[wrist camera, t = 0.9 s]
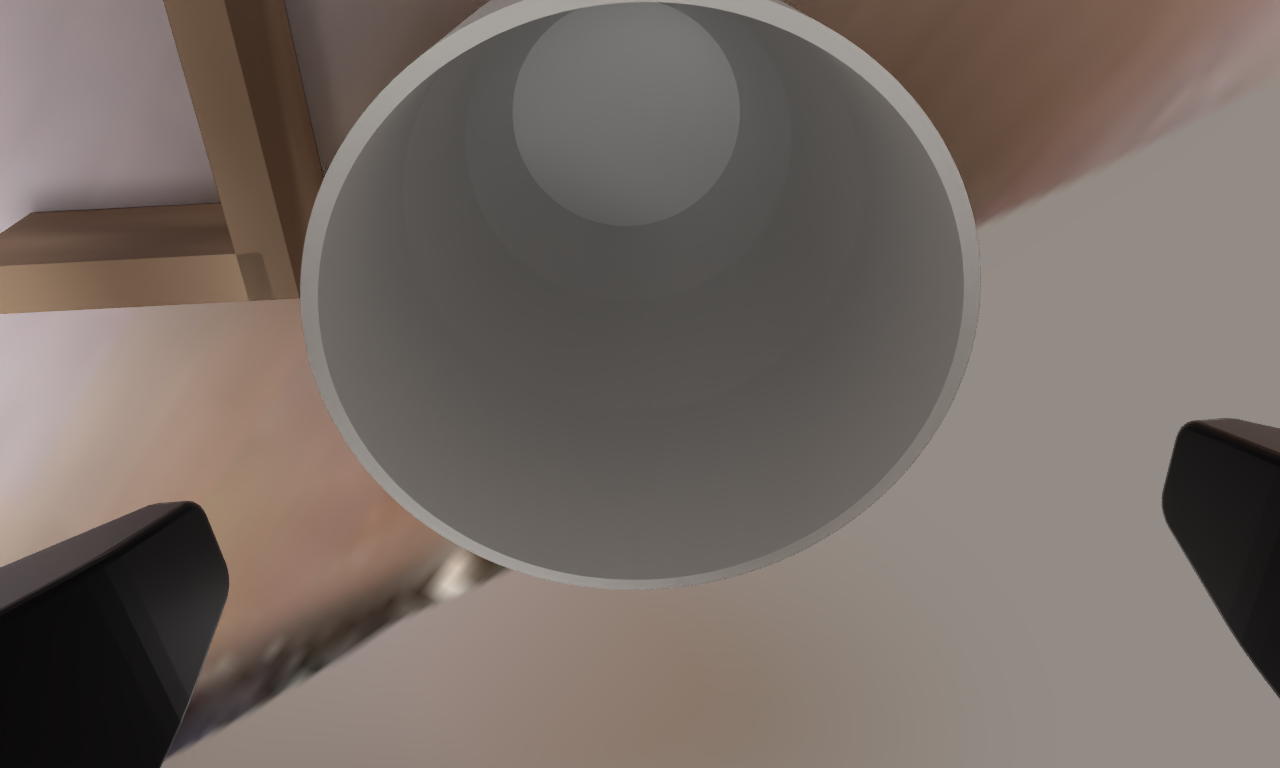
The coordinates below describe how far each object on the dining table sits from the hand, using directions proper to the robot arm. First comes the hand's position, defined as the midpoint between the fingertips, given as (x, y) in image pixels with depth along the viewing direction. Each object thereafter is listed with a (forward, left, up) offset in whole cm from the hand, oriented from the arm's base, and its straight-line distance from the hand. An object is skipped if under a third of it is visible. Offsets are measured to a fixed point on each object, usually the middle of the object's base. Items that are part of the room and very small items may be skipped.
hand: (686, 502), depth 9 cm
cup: (0, 0, -13) cm, 13 cm away
